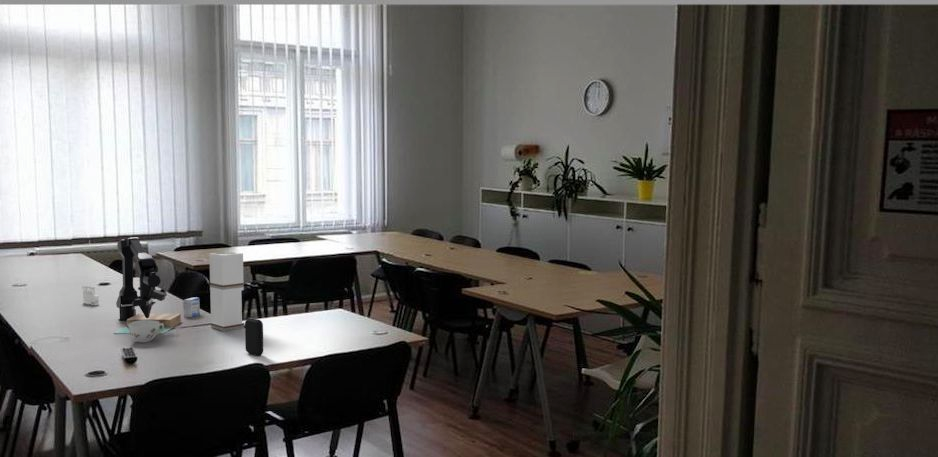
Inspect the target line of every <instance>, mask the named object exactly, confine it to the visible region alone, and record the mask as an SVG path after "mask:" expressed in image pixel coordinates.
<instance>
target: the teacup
mask: <svg viewBox="0 0 938 457" xmlns="http://www.w3.org/2000/svg"><path fill="white" fill-rule="evenodd" d="M128 326H129V330H130V333H131V334H130V335H131V337H132V338H133V340H135V341H136V342H138V343H149V342H151V341H153V339H154V338H156V336H157V335H160V334H159V333H161V332H162V331H163V329H164V324H163V323H159V322H158V321H151V320H141V321H135V322H131V323H129V324H128ZM159 326H162V330H161V331H159V332H158V330H159Z"/></svg>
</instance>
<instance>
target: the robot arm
mask: <svg viewBox="0 0 938 457" xmlns="http://www.w3.org/2000/svg"><path fill="white" fill-rule="evenodd" d="M116 244H117V249H118V253H119V254H120V256H121V257H122V287H121V289H120V290H119V291H118V292H119V294H118V297H117V300H116V302H115V303H116V304H115V305H116V308H118V309H119V318H118V321H127V319H129V318H131V317H133V316H135V315H137V309H135V308H136V307H139V308H140V310H141V312H142V314H144V315H145V317H146V318H149V315H150V314H151V311H152V307H153V306H154V305H155V304H156V301H153V300H157V301H158V302H159V301H160V302H162V301H165V299H166V296H168V294H167V290H166V289H165V288H161V289H156V288H157V287H159V285H160V284H161V278H160V276H159V275H157V273H158V272H159V267H158V265H157V262H156V260H155V259H154V258H153V257H152V255H151V254H148V253H147V252H146V250H145V249H144V247H143V245H142V244H141V241H140V238H139V237H138V236H137V237H133V236H132V237H128V238H125V239H120V240H118V242H117V243H116ZM134 257H135V259H136V261H135V266H136V269H137V271H138V276H139V277H138V278H139V287H138V288H137V290H139V296H138V291H137V290H136V289H135V287H134Z"/></svg>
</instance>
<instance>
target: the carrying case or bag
mask: <svg viewBox="0 0 938 457" xmlns="http://www.w3.org/2000/svg"><path fill="white" fill-rule="evenodd" d="M243 329H244V331H245V332H244V336H245V338H244V339H245V343H244V344H245V352H247V354H250V355H254V356H257V357H261V356H262V355H263V354H264V323H263V321H262V320H260V319H257V318H251V317H248V318H246V320H245V322H244V328H243Z"/></svg>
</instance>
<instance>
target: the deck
mask: <svg viewBox="0 0 938 457" xmlns="http://www.w3.org/2000/svg"><path fill="white" fill-rule="evenodd" d="M141 320H151V321H158V322H159V323H163V324H164V328H172V329H173V327H175V326H176V325H178V324H180V323H181V322H182V321H181V320H182V318H181V313H150V315H149V318H146V317H145V315H144V314H143V313H138V314H137V313H136V315H135V316H133V317H131V318H129V319H127V320H126V327H129V326H128V324H129V323H131V322H135V321H141ZM159 328H162V326H159Z"/></svg>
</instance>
